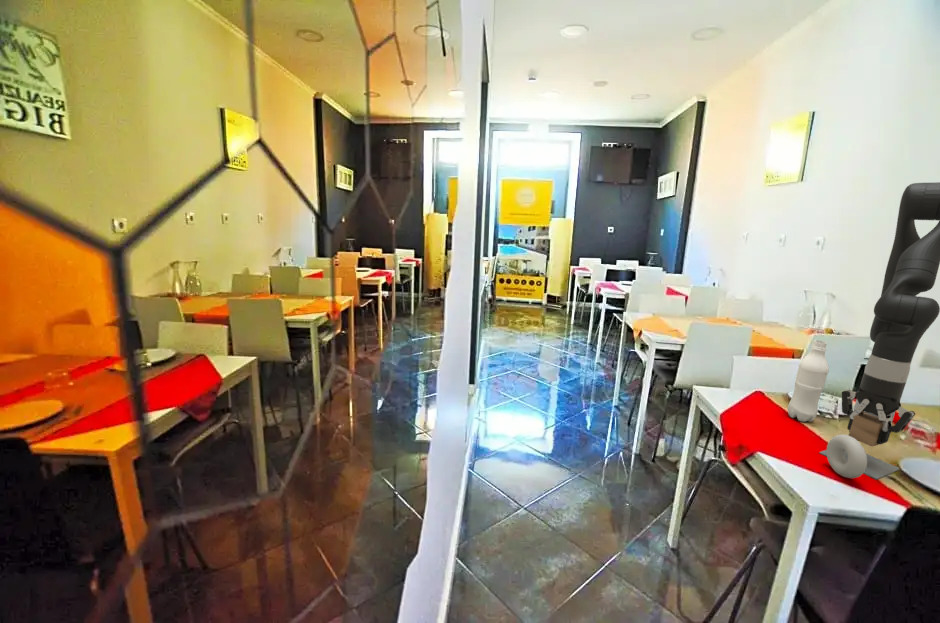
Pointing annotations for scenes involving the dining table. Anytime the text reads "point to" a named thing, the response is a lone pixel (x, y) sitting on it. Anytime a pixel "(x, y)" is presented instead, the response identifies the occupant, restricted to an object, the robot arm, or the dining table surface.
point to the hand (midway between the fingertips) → (865, 437)
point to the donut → (855, 456)
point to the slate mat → (873, 466)
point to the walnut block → (866, 429)
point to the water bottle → (809, 383)
